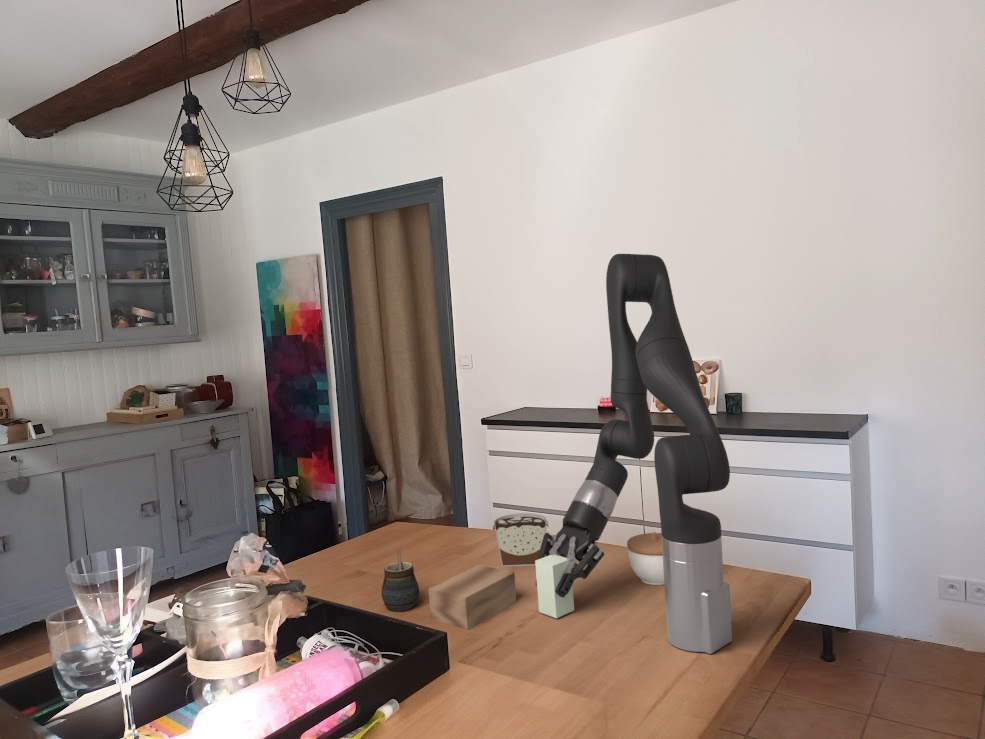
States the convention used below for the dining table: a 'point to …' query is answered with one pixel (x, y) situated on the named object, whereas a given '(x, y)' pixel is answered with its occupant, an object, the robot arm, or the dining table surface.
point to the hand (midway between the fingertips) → (549, 591)
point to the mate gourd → (400, 586)
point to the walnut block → (472, 596)
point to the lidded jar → (647, 557)
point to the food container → (520, 538)
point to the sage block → (552, 586)
